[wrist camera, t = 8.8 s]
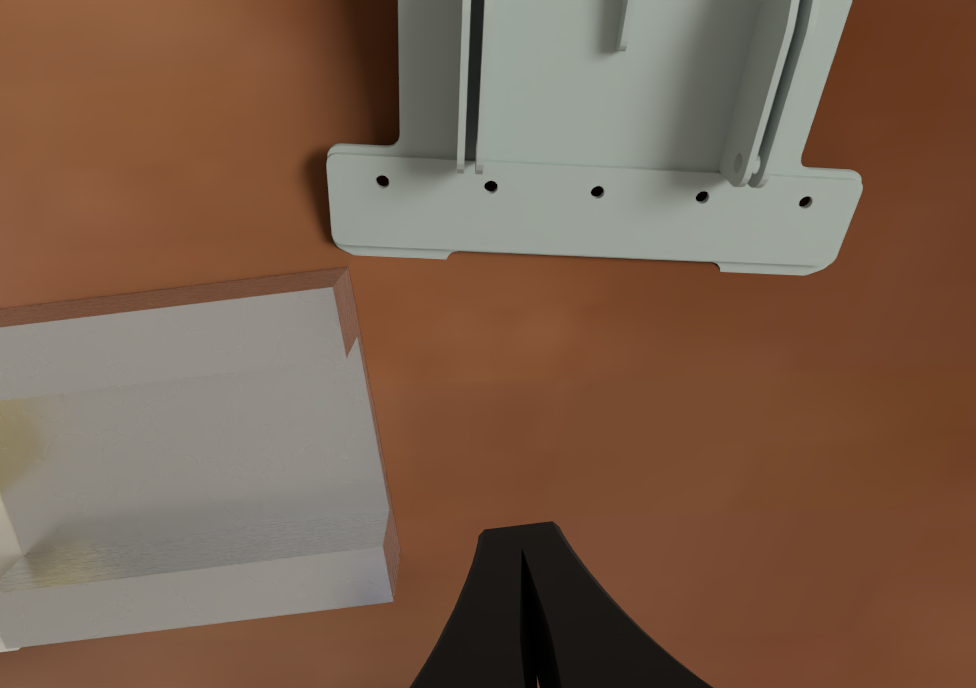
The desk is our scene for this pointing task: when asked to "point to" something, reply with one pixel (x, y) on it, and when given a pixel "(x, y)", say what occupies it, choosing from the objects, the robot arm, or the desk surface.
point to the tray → (7, 550)
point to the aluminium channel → (190, 459)
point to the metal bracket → (604, 135)
